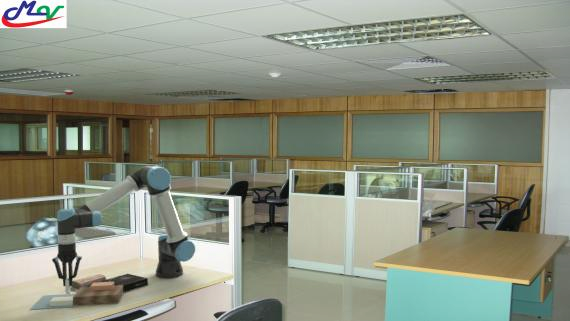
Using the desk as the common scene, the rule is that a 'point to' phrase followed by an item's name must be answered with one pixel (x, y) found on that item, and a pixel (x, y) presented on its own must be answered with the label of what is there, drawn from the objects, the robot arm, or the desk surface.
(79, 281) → the packaged product
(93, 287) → the terracotta card
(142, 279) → the portable cd player
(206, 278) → the desk surface
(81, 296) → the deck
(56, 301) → the ivory card
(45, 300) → the mat
